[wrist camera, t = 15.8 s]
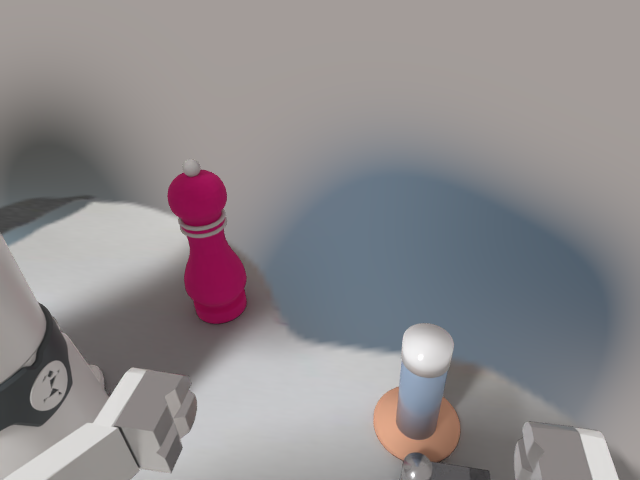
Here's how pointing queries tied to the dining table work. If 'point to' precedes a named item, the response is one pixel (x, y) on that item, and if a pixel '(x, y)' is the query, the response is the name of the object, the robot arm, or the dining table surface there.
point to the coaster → (401, 445)
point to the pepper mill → (207, 245)
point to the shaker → (422, 379)
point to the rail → (438, 470)
